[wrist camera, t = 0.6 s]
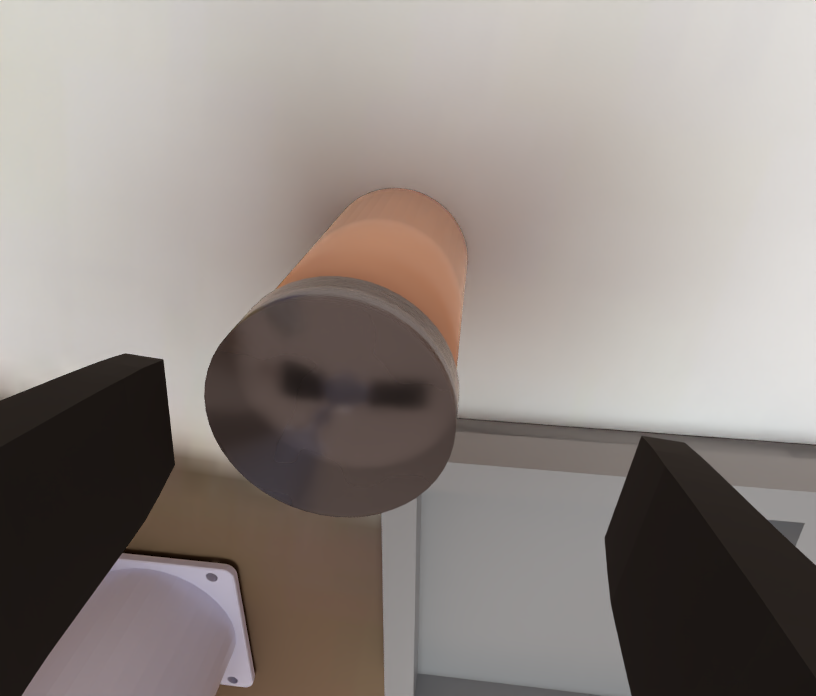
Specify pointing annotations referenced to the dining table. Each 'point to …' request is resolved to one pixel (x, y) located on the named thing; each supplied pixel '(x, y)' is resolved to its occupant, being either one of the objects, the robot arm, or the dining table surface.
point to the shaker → (350, 363)
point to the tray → (540, 556)
